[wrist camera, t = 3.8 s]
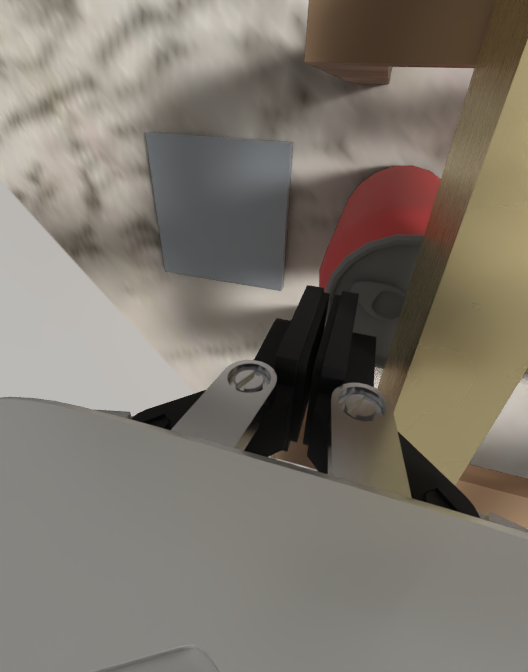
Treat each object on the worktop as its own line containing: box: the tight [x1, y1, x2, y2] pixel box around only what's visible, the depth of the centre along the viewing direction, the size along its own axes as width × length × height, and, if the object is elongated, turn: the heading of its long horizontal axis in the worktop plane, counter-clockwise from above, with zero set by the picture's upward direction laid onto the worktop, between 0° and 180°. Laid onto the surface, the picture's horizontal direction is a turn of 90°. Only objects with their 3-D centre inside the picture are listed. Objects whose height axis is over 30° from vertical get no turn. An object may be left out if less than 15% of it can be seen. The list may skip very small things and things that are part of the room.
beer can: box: [319, 166, 441, 368], centre depth 17 cm, size 7×7×12 cm
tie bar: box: [378, 0, 528, 485], centre depth 10 cm, size 2×18×4 cm, turn 178°
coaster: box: [145, 132, 293, 291], centre depth 25 cm, size 10×10×1 cm
